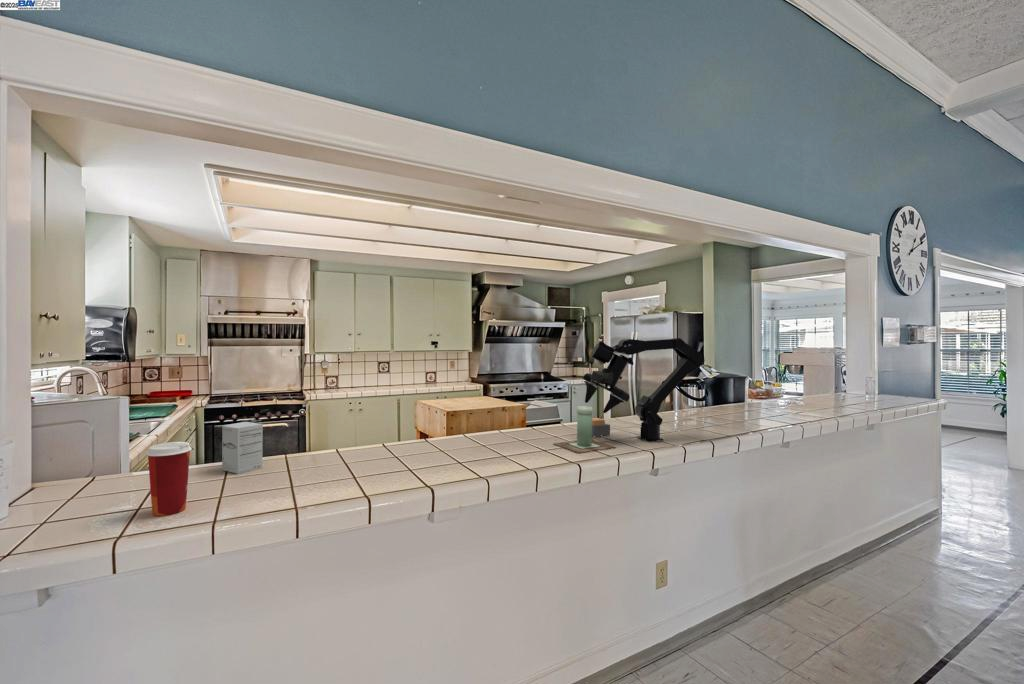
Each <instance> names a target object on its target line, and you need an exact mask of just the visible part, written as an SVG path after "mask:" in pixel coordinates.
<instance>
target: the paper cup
mask: <svg viewBox="0 0 1024 684" xmlns="http://www.w3.org/2000/svg"><path fill="white" fill-rule="evenodd" d="M192 449H193V448H192V447H191V446H190V443H189V442H187V441H171V442H170V441H169V442H163V443H162V442H161V443H158V444H154V445H150V447H149V448H148V451H147V452H146V453H145V455H146V456H147V458H148V473H149V488H150V499H151V500H150V501H151V511H152V515H153V516H155V517H166V516H167V517H168V516H172V515H177V514H179V513H182V512H184V511H185V510H186V508H187V498H188V497H187V496H188V485H189V484H188V483H189V471H190V469H189V467H190V455H191V453H190V452H191V451H192Z"/></svg>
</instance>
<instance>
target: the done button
mask: <svg viewBox="0 0 1024 684" xmlns="http://www.w3.org/2000/svg"><path fill="white" fill-rule="evenodd" d="M605 424H606V420H605V418H604V419H603V418H599V417H592V425H593V426H597V425H605Z"/></svg>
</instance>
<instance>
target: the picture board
mask: <svg viewBox="0 0 1024 684" xmlns="http://www.w3.org/2000/svg"><path fill="white" fill-rule="evenodd" d="M553 445H554V446H556V445H557V446H556V447H559V448H562V449H564V450H567V451H569V450H570V452H572V453H575V454H577V453H579V454H585V452H586V453H591V451H593V452H598V451H597V450H600V451H605V450H604V449H606V450H612V449H611V448H613V449H617V446H614V445H611V444H607V443H604V442H601V441H598V440H595V439H592V446H588V447H584V446H578V445H577V439H576V440H571V441H570V440H568V441H562V442H554V443H553Z"/></svg>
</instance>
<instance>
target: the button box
mask: <svg viewBox="0 0 1024 684" xmlns="http://www.w3.org/2000/svg"><path fill="white" fill-rule="evenodd" d="M601 435H607V436H611V424H609V423H605V425H597V426H593V425H592V436H599V437H602V436H601Z"/></svg>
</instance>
